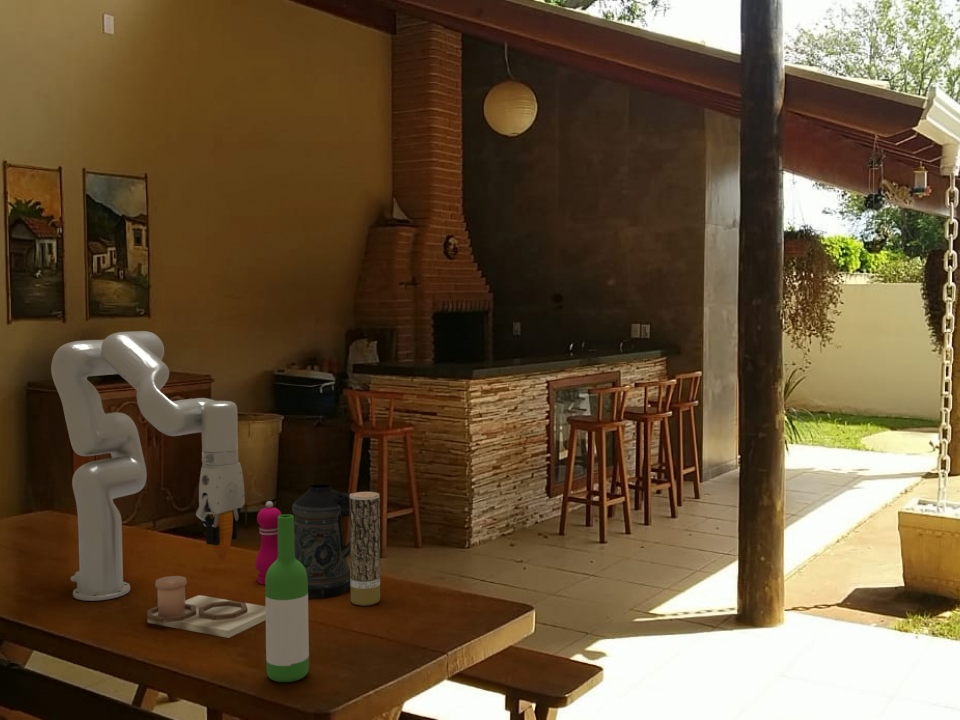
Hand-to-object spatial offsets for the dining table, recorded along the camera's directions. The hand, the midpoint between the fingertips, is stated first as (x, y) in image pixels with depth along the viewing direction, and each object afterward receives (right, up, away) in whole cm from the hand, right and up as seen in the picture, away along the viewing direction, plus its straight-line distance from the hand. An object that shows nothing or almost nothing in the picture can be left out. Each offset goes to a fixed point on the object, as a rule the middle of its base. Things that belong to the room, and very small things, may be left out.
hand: (221, 540), depth 207 cm
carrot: (0, -5, 0) cm, 5 cm away
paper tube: (+30, -17, +13) cm, 36 cm away
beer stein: (+18, -16, +23) cm, 34 cm away
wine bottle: (+20, -19, -31) cm, 42 cm away
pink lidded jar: (-11, -16, -1) cm, 19 cm away
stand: (-3, -17, 0) cm, 18 cm away
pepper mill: (+4, -16, +29) cm, 33 cm away
